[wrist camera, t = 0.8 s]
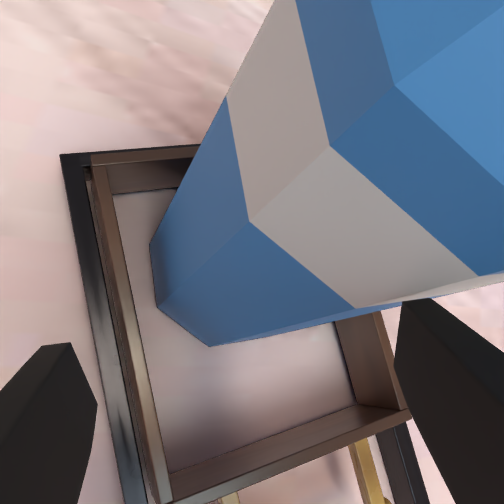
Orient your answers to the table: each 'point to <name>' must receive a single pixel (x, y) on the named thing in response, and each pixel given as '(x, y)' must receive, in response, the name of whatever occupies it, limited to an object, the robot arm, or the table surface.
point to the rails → (121, 426)
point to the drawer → (275, 447)
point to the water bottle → (342, 171)
